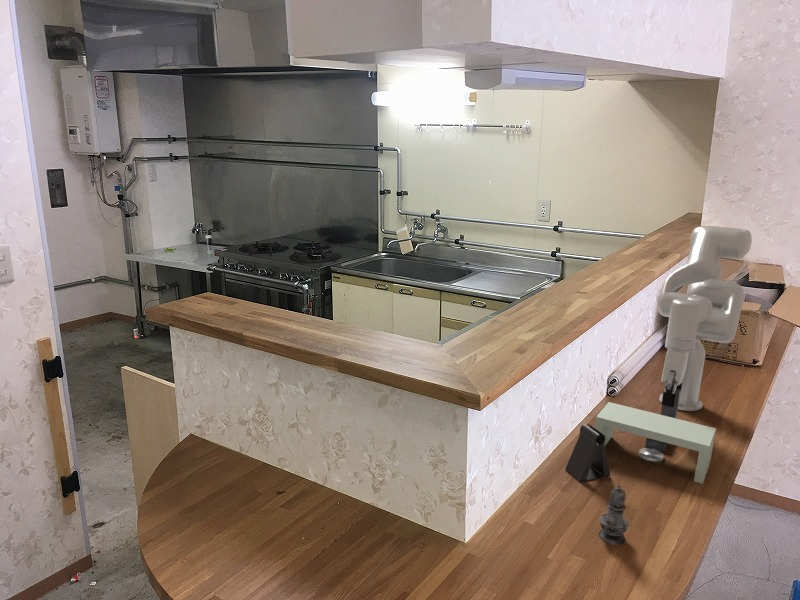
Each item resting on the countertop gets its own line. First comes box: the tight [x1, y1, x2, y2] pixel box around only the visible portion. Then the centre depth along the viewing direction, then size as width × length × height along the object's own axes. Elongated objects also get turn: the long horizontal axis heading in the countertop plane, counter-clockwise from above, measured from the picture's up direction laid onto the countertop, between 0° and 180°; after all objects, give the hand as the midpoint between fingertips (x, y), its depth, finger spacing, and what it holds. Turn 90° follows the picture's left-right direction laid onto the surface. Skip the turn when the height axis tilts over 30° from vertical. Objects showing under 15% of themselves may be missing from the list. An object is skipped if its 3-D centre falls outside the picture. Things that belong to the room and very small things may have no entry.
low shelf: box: [594, 401, 717, 485], centre depth 166 cm, size 12×27×10 cm, turn 58°
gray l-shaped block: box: [644, 389, 681, 453], centre depth 178 cm, size 17×5×12 cm, turn 148°
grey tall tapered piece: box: [598, 484, 630, 546], centre depth 132 cm, size 6×6×12 cm
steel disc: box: [638, 447, 665, 463], centre depth 168 cm, size 6×6×1 cm
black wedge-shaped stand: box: [564, 423, 611, 483], centre depth 157 cm, size 9×6×12 cm, turn 110°
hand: (670, 400), depth 183 cm, fingers open, 9 cm apart
